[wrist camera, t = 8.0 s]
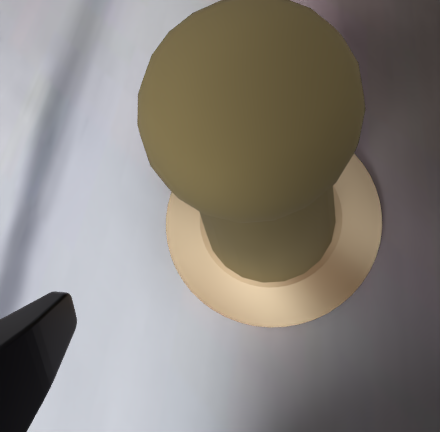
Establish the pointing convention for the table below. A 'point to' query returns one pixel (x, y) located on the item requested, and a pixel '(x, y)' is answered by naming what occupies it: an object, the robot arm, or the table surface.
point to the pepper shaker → (254, 129)
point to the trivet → (293, 288)
